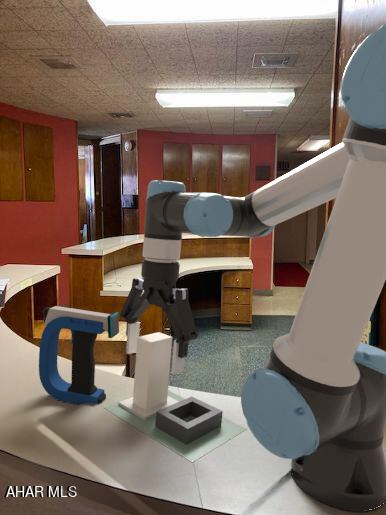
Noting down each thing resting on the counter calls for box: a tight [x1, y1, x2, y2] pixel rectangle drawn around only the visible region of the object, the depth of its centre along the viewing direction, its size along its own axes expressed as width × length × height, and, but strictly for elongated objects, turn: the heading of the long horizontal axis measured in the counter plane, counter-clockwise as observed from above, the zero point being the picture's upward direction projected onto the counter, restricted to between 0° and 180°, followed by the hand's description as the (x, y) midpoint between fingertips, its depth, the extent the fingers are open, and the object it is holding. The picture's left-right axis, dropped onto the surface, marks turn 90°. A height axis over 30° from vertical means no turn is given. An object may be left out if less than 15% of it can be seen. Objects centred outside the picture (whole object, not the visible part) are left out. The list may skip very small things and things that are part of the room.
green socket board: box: [103, 389, 247, 463], centre depth 82 cm, size 24×16×4 cm, turn 48°
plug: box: [132, 331, 173, 410], centre depth 85 cm, size 4×6×14 cm, turn 138°
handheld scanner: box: [38, 305, 120, 406], centre depth 87 cm, size 5×16×20 cm, turn 78°
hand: (153, 362), depth 85 cm, fingers open, 13 cm apart
